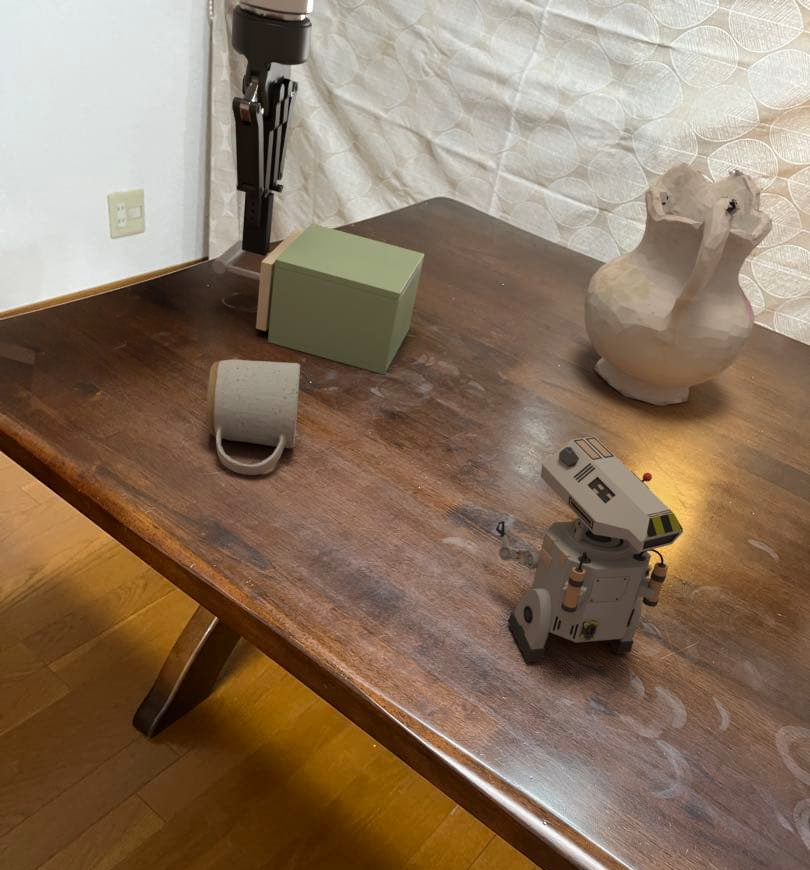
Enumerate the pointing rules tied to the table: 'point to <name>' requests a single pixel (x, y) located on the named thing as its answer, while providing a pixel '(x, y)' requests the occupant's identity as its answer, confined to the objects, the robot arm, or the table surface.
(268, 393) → the ceramic mug
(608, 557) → the figurine
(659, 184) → the ceramic pitcher
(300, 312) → the cabinet
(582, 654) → the table surface
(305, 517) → the table surface
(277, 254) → the drawer
